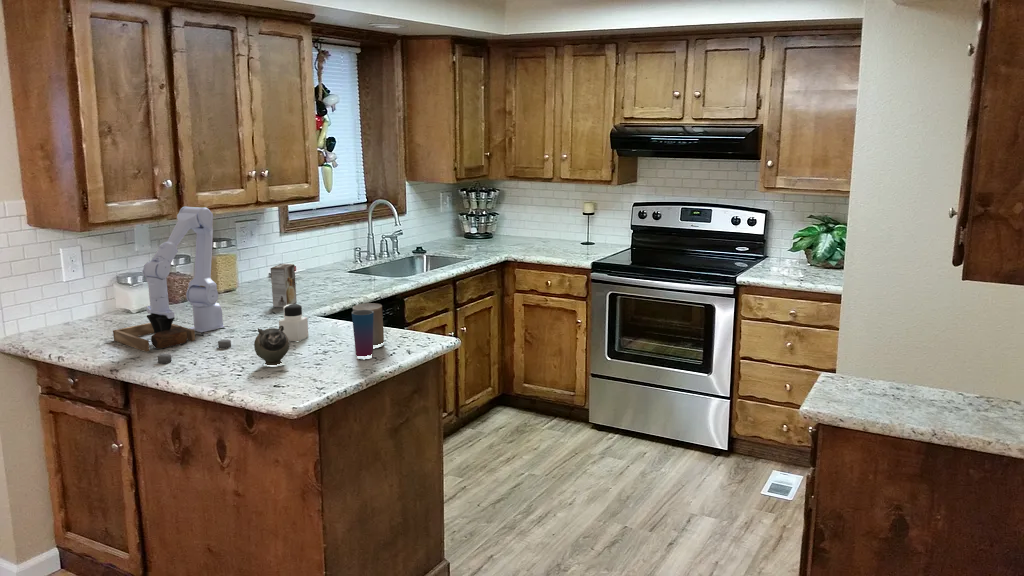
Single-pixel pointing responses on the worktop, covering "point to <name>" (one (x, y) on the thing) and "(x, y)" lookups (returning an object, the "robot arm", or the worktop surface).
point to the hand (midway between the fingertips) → (162, 335)
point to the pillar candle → (374, 320)
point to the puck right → (224, 343)
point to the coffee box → (283, 285)
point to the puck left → (164, 358)
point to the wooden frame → (131, 333)
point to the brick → (169, 338)
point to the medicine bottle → (294, 323)
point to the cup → (363, 331)
